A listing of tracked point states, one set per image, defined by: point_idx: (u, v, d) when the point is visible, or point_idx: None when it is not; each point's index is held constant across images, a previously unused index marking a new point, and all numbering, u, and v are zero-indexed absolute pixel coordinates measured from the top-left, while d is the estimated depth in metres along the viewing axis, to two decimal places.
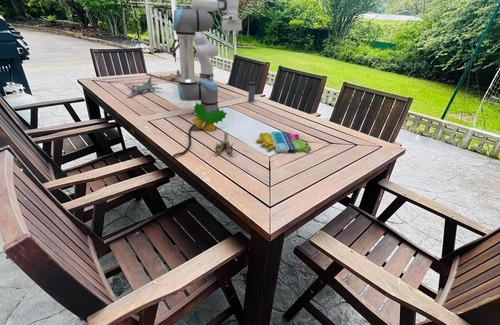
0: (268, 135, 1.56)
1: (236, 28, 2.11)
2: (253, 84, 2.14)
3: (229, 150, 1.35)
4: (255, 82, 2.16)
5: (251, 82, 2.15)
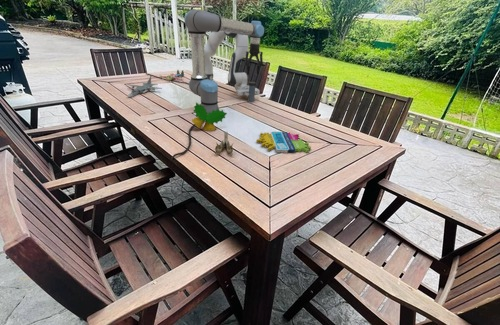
0: (268, 135, 1.56)
1: None
2: (253, 84, 2.14)
3: (229, 150, 1.35)
4: (255, 82, 2.16)
5: (251, 82, 2.15)
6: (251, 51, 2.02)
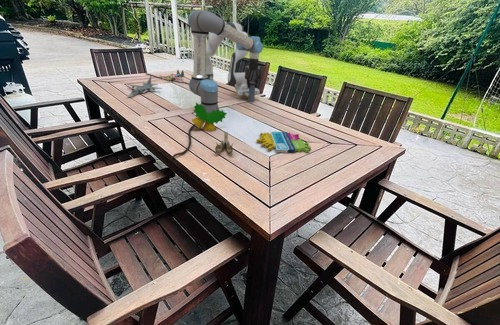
0: (268, 135, 1.56)
1: None
2: (253, 84, 2.14)
3: (229, 150, 1.35)
4: (255, 82, 2.16)
5: (251, 82, 2.15)
6: (250, 65, 2.07)
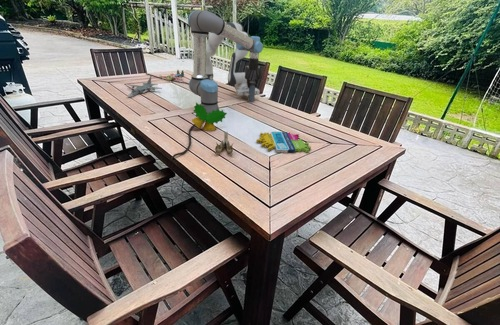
0: (268, 135, 1.56)
1: None
2: None
3: (229, 150, 1.35)
4: None
5: (252, 82, 2.15)
6: (250, 65, 2.07)
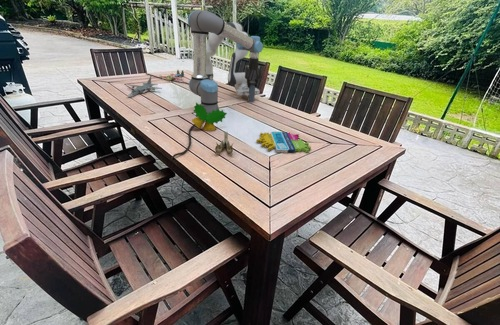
0: (268, 135, 1.56)
1: None
2: None
3: (229, 150, 1.35)
4: (250, 82, 2.14)
5: (252, 81, 2.16)
6: (250, 65, 2.07)
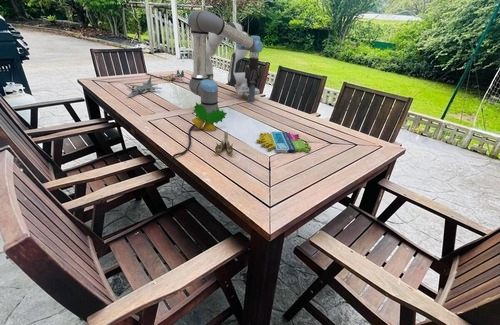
0: (268, 135, 1.56)
1: None
2: (250, 83, 2.13)
3: (229, 150, 1.35)
4: (255, 82, 2.14)
5: (251, 81, 2.15)
6: (250, 65, 2.07)
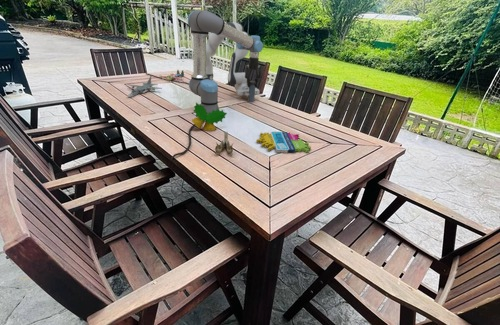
0: (268, 135, 1.56)
1: None
2: (255, 83, 2.15)
3: (229, 150, 1.35)
4: None
5: (252, 81, 2.14)
6: (250, 64, 2.07)
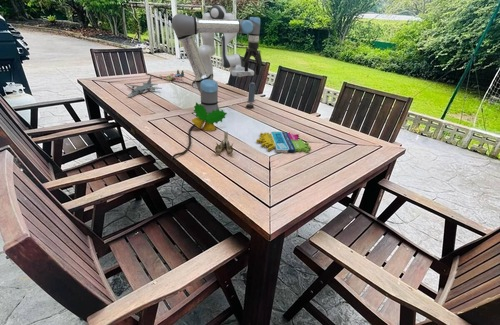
0: (268, 135, 1.56)
1: None
2: None
3: (229, 150, 1.35)
4: None
5: (250, 105, 2.07)
6: None
